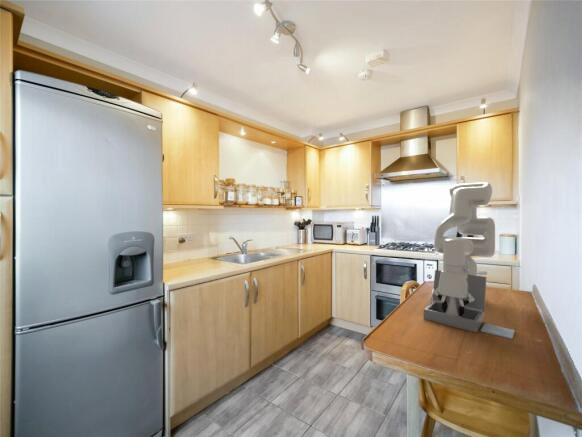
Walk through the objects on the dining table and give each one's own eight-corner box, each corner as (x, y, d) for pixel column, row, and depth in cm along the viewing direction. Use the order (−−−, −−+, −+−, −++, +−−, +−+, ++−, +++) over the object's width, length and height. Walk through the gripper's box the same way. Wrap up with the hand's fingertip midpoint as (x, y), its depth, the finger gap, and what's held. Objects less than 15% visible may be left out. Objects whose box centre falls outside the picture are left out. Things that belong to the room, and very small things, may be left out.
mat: (484, 324, 104) (484, 323, 104) (514, 331, 97) (514, 330, 97) (480, 331, 97) (480, 330, 97) (512, 339, 91) (512, 338, 91)
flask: (440, 320, 107) (440, 295, 107) (445, 315, 113) (445, 292, 112) (461, 325, 102) (461, 299, 102) (465, 320, 108) (465, 295, 108)
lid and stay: (434, 301, 122) (434, 269, 122) (485, 312, 108) (486, 276, 108) (428, 306, 115) (428, 272, 115) (482, 318, 102) (482, 280, 102)
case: (434, 309, 119) (434, 299, 119) (483, 321, 107) (483, 309, 107) (423, 318, 109) (423, 307, 109) (476, 332, 96) (476, 319, 96)
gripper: (480, 270, 104) (479, 316, 104) (433, 265, 116) (432, 306, 116) (477, 273, 99) (476, 322, 99) (428, 267, 110) (427, 310, 111)
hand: (452, 313), depth 107 cm, fingers closed on flask, 4 cm apart
